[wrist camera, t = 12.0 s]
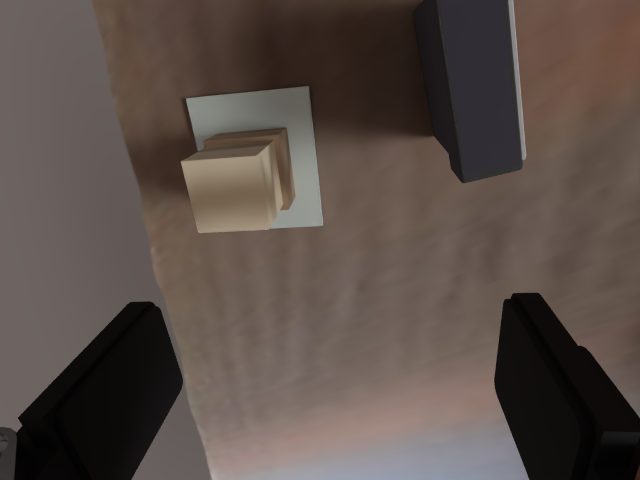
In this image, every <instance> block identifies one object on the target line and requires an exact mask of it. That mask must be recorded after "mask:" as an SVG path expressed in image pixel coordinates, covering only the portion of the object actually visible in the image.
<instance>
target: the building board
mask: <svg viewBox="0 0 640 480" xmlns="http://www.w3.org/2000/svg"><path fill="white" fill-rule="evenodd" d="M186 101H187V106H188V110H189V115H190V119H191V123H192V128H193V132H194V136H195V141H196V145H197V150H198V151H200V150H202V149H204V145H203V141H204V140H206V139H208V138H210V137H212V136H214V135H216V134H218V133H228V132H240V131H252V130H263V129H275V128H287V133H288V141H289V148H290V156H291V164H292V172H293V179H294V187H295V195H296V197H295V199H294V201H293V203H292V204H291V206H290V208H289V210H280V211H279V212H278V214H277V216H276V218H275V219H274V221H273V223H272V225H271V227H270V228H289V227H309V226H323V217H322V208H321V198H320V188H319V178H318V168H317V159H316V149H315V139H314V129H313V119H312V110H311V100H310V90H309V86H304V87H294V88H283V89H273V90H263V91H253V92H243V93H233V94H223V95H213V96H203V97H193V98H186Z"/></svg>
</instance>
